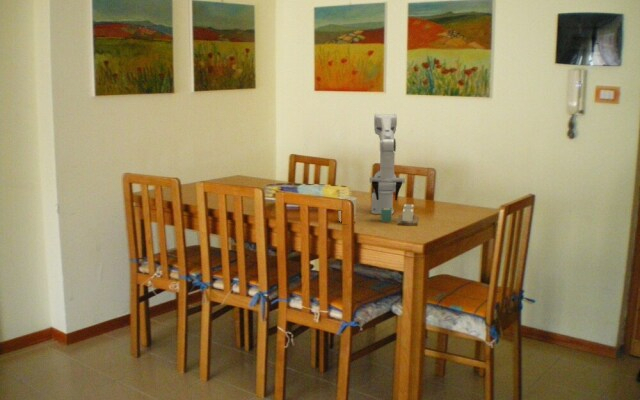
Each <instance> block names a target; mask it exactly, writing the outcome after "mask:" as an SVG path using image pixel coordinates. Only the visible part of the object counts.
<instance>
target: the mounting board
mask: <svg viewBox="0 0 640 400" xmlns="http://www.w3.org/2000/svg"><path fill="white" fill-rule="evenodd" d="M402 218H403V214H399V215H398V219H397V222H396V223H397V224H396V225H397V226H410V227H411V226H415V227H417V226H418V222H419V221H418V220H419V215H418V214H417V215H415V214H413V220H412V221H402Z"/></svg>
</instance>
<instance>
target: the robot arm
mask: <svg viewBox="0 0 640 400" xmlns="http://www.w3.org/2000/svg"><path fill="white" fill-rule="evenodd" d="M373 117H374V119H373V120H374V123H373V127H374V130H373V131H374V134H376V135H378V137H379V138H378V139H379V159H380V161H379V162H380V163H379V167H380V168H379V170H378V171H377V172H376V173H375V174H374V176H373V177H371V176H370V177H369V183H371V185H372V187H373V188H372V189H373V192H372V194H371V206H370V208H371V212H370V213H371V214H372V215H373V214H377V215H378V214H379V215H381V210H382V208H392V215H393V214H394V211H395V210H394V207H393V206H394V201H398V196H399V193H400V190H401V187H402V186H403V184H405V183H406V177H405V178H404V177H397V175H396V174H395V159H396V158H395V155H396V154H395V153H396V151H397V142H396V141H397V140H396V138H395V134H396V131H397V126H398V125H397V124H398V123H397V122H398V117H397V113H375V114H374V115H373ZM394 193H395V196H394Z"/></svg>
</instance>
